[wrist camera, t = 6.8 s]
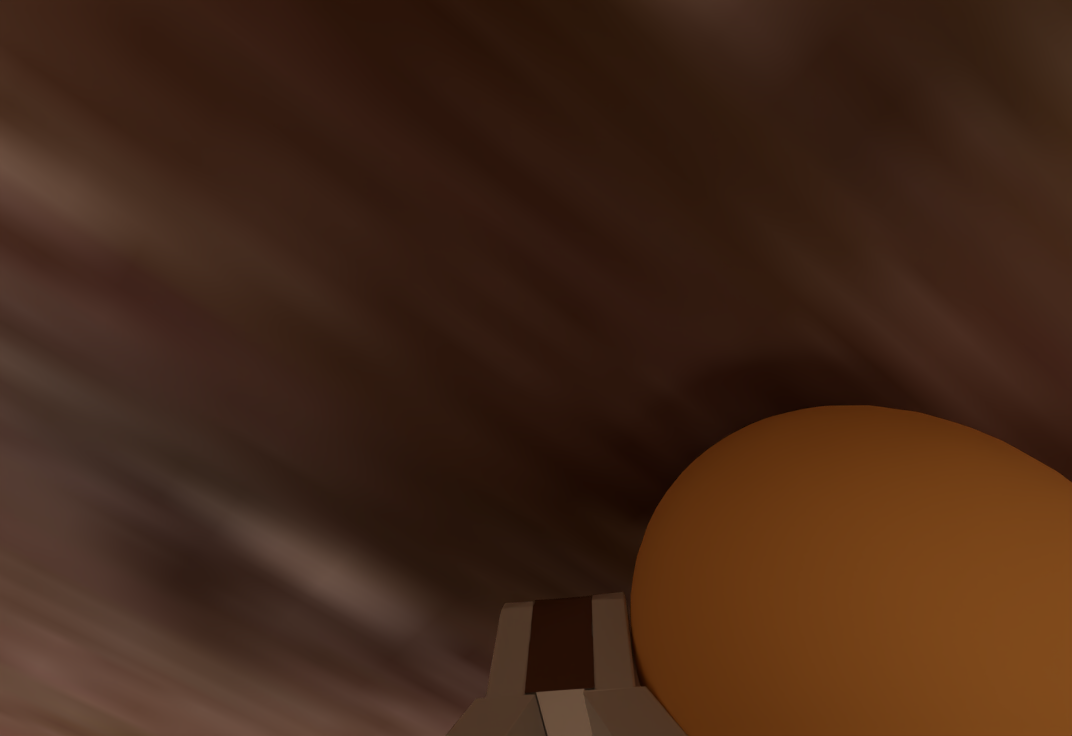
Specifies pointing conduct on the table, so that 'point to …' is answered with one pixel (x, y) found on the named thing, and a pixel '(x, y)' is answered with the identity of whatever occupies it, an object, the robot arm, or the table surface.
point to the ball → (859, 583)
